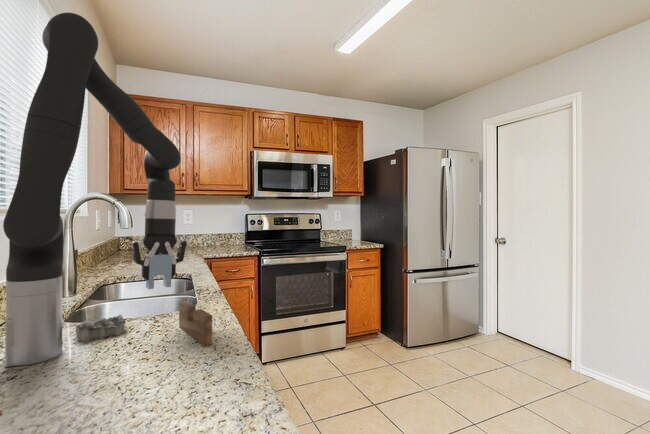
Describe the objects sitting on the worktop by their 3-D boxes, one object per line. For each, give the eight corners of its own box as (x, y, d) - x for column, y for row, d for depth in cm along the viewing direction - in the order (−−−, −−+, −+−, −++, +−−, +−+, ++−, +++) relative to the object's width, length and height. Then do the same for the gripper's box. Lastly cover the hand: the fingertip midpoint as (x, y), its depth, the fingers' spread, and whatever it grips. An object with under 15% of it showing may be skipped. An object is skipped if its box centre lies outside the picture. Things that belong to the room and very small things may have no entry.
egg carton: (75, 343, 81) (75, 327, 81) (75, 335, 87) (75, 319, 87) (126, 334, 88) (126, 318, 88) (123, 326, 94) (122, 312, 94)
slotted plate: (203, 346, 79) (203, 316, 79) (179, 327, 93) (179, 301, 93) (212, 344, 80) (212, 315, 80) (186, 325, 94) (186, 300, 94)
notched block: (148, 289, 89) (149, 255, 89) (146, 287, 91) (146, 254, 91) (171, 286, 93) (172, 254, 93) (167, 285, 95) (168, 253, 95)
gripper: (134, 216, 85) (132, 283, 85) (192, 218, 94) (190, 278, 94) (127, 216, 90) (126, 279, 90) (182, 217, 100) (181, 274, 100)
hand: (158, 278), depth 92 cm, fingers closed on notched block, 5 cm apart
